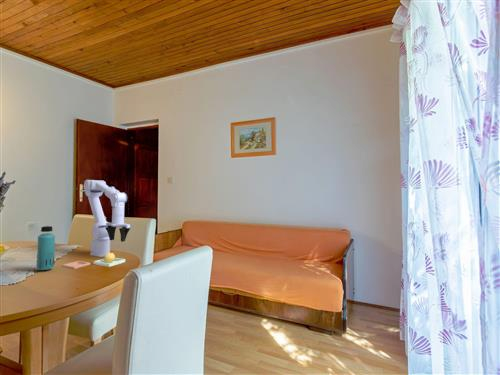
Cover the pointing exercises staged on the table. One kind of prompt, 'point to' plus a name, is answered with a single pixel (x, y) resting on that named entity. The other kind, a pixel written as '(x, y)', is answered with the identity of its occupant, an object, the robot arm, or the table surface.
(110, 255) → the ball
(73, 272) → the table surface
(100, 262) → the tray
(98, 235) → the robot arm
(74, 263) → the dish
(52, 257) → the beverage bottle
